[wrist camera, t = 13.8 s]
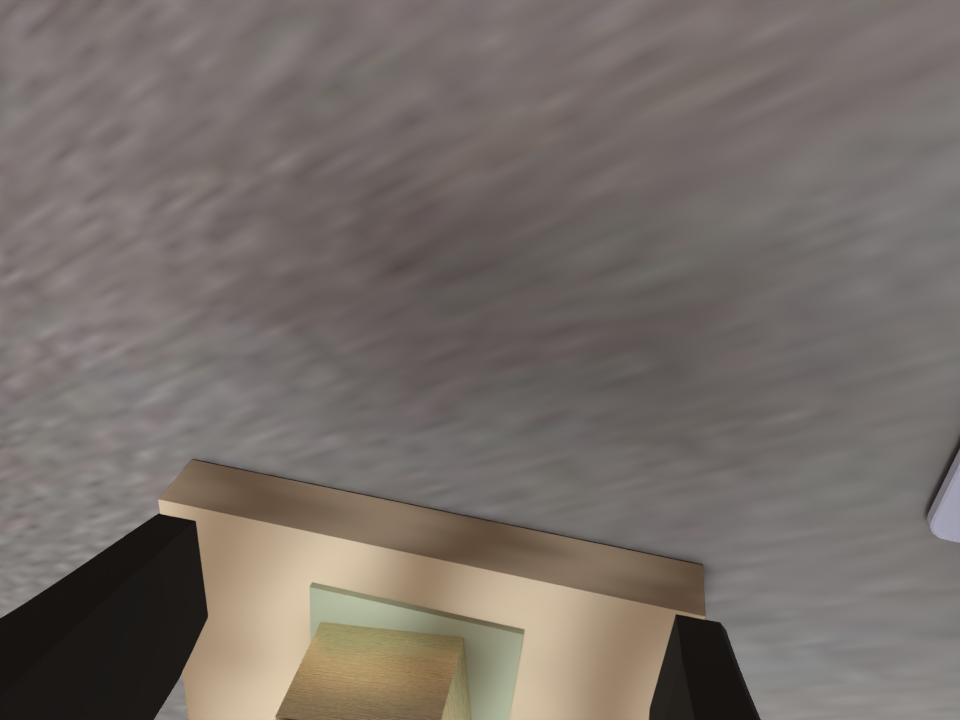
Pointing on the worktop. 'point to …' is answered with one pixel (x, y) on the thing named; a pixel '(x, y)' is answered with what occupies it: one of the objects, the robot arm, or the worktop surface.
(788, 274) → the worktop surface
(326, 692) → the block
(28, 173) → the worktop surface
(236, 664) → the birch stand
